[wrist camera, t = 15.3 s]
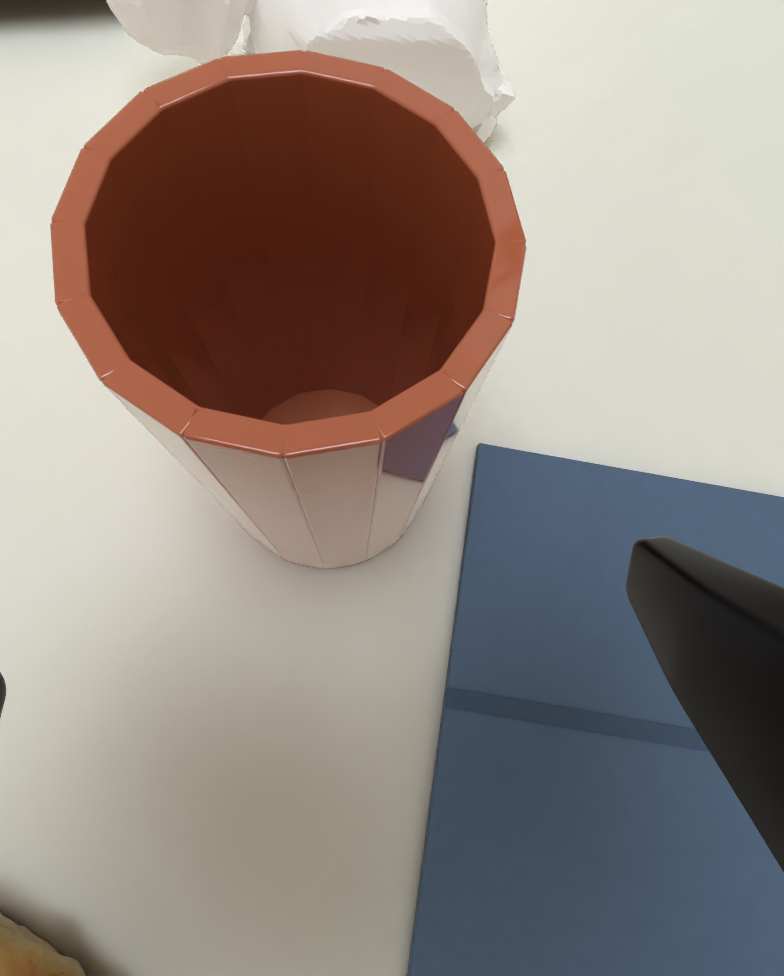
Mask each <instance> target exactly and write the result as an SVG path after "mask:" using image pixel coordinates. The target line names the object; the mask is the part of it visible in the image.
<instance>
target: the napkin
mask: <svg viewBox="0 0 784 976" xmlns="http://www.w3.org/2000/svg"><path fill="white" fill-rule="evenodd" d="M657 536H666V537H669V538H671V539H673V540H676V541H678V542H680V543H683V544H685V545H687V546H690V547H692V548H694V549H697V550H699V551H701V552H704V553H706V554H708V555H710V556H713V557H715V558H717V559H720V560H722V561H724V562H727V563H729V564H731V565H734V566H736V567H738V568H741V569H743V570H745V571H748V572H750V573H752V574H755V575H757V576H759V577H761V578H764V579H766V580H768V581H771V582H773V583H775V584H778V585H780V586H782V587H784V497H779V496H773V495H768V494H762V493H756V492H751V491H745V490H739V489H734V488H728V487H723V486H717V485H711V484H706V483H700V482H694V481H689V480H683V479H678V478H672V477H666V476H661V475H655V474H649V473H644V472H638V471H633V470H627V469H621V468H616V467H610V466H604V465H599V464H593V463H587V462H582V461H576V460H571V459H565V458H559V457H554V456H548V455H542V454H537V453H531V452H526V451H520V450H514V449H509V448H503V447H497V446H492V445H486V444H481V443H480V444H479V445H478V447H477V453H476V460H475V468H474V476H473V483H472V491H471V498H470V506H469V513H468V521H467V528H466V536H465V544H464V551H463V559H462V566H461V574H460V581H459V589H458V596H457V604H456V612H455V619H454V627H453V634H452V642H451V649H450V657H449V664H448V672H447V680H446V687H445V695H444V702H443V710H442V717H441V725H440V732H439V740H438V748H437V755H436V763H435V770H434V778H433V785H432V793H431V800H430V808H429V816H428V823H427V831H426V838H425V846H424V853H423V861H422V868H421V876H420V884H419V891H418V899H417V906H416V914H415V921H414V929H413V936H412V944H411V952H410V959H409V967H408V974H407V976H784V872H783V871H782V869H781V867H780V866H779V864H778V862H777V861H776V859H775V858H774V856H773V854H772V853H771V851H770V849H769V848H768V846H767V845H766V843H765V841H764V840H763V838H762V836H761V835H760V833H759V831H758V830H757V828H756V827H755V825H754V823H753V822H752V820H751V818H750V817H749V815H748V814H747V812H746V810H745V809H744V807H743V805H742V804H741V802H740V800H739V799H738V797H737V796H736V794H735V792H734V791H733V789H732V787H731V786H730V784H729V783H728V781H727V779H726V778H725V776H724V774H723V773H722V771H721V770H720V768H719V766H718V765H717V763H716V761H715V760H714V758H713V756H712V755H711V753H710V752H709V750H708V748H707V747H706V745H705V743H704V742H703V740H702V739H701V737H700V735H699V734H698V732H697V730H696V729H695V727H694V725H693V724H692V722H691V721H690V719H689V717H688V716H687V714H686V712H685V711H684V709H683V708H682V706H681V704H680V702H679V701H678V699H677V697H676V696H675V694H674V692H673V690H672V688H671V686H670V685H669V683H668V681H667V679H666V677H665V675H664V673H663V671H662V668H661V666H660V664H659V662H658V660H657V658H656V656H655V654H654V652H653V650H652V648H651V645H650V643H649V641H648V639H647V637H646V635H645V633H644V631H643V629H642V627H641V624H640V622H639V620H638V618H637V616H636V614H635V612H634V610H633V608H632V606H631V603H630V601H629V599H628V596H627V591H626V581H627V575H628V570H629V565H630V559H631V554H632V549H633V545H634V544H635V542H636V541H638V540H639V539H644V538H651V537H657Z"/></svg>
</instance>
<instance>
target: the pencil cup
mask: <svg viewBox="0 0 784 976" xmlns="http://www.w3.org/2000/svg"><path fill="white" fill-rule="evenodd" d="M50 226H51V242H52V258H53V274H54V290H55V303H56V305H57V308H58V311H59V313H60V314H61V316H62V318H63V320H64V321H65V323H66V325H67V326H68V328H69V330H70V331H71V333H72V335H73V336H74V338H75V340H76V341H77V343H78V345H79V346H80V348H81V350H82V352H83V353H84V355H85V357H86V358H87V360H88V362H89V363H90V365H91V367H92V368H93V370H94V372H95V373H96V375H97V377H98V379H99V380H100V381H101V382H102V383H103V384H104V386H105V387H106V388H107V389H108V390H109V391H110V392H111V393H112V394H113V395H114V396H115V397H116V398H117V399H118V400H119V401H120V402H121V403H122V404H123V405H124V406H125V407H126V408H127V409H128V410H129V411H130V412H131V413H132V414H133V415H134V416H135V417H136V418H137V419H138V421H139V422H140V423H141V424H142V425H143V426H144V427H145V428H146V429H147V430H148V431H149V432H150V433H151V434H152V435H153V436H154V437H155V438H156V439H157V440H158V441H159V442H160V443H161V444H162V445H163V446H164V447H165V448H166V449H167V450H168V451H169V452H170V453H171V454H172V455H173V456H174V457H175V458H176V460H177V461H178V462H179V463H180V464H181V465H182V466H183V467H184V468H185V469H186V470H187V471H188V472H189V473H190V474H191V475H192V476H193V477H194V478H195V479H196V480H197V481H198V482H199V483H200V484H201V485H202V486H203V487H204V488H205V489H206V490H207V491H208V492H209V493H210V494H211V495H212V496H213V497H214V498H215V500H216V501H217V502H218V503H219V504H220V505H221V506H222V507H223V508H224V509H225V510H226V511H227V512H228V513H229V514H230V515H231V516H232V517H233V518H234V519H235V520H236V521H237V522H238V523H239V524H240V525H241V526H242V527H243V528H244V529H245V530H246V531H247V532H248V533H249V534H250V535H251V536H252V537H253V538H254V539H255V540H257V541H258V542H260V543H261V544H262V545H264V546H265V547H266V548H267V549H269V550H270V551H271V552H273V553H275V554H276V555H278V556H280V557H281V558H283V559H285V560H287V561H290V562H293V563H296V564H299V565H303V566H307V567H314V568H340V567H347V566H351V565H355V564H358V563H361V562H363V561H366V560H368V559H371V558H373V557H374V556H376V555H378V554H380V553H381V552H383V551H384V550H385V549H387V548H388V547H390V546H391V545H392V544H393V543H394V542H395V541H397V540H398V539H399V538H400V537H401V536H402V534H403V533H404V531H405V530H406V529H407V527H408V526H409V525H410V523H411V521H412V519H413V518H414V516H415V515H416V514H417V512H418V511H419V509H420V507H421V505H422V503H423V502H424V500H425V498H426V496H427V494H428V492H429V490H430V488H431V486H432V484H433V482H434V480H435V478H436V476H437V474H438V472H439V470H440V468H441V466H442V464H443V462H444V460H445V458H446V456H447V454H448V452H449V450H450V448H451V446H452V444H453V442H454V440H455V438H456V436H457V434H458V432H459V430H460V428H461V426H462V424H463V422H464V420H465V418H466V416H467V414H468V412H469V410H470V408H471V406H472V404H473V402H474V400H475V398H476V396H477V394H478V393H479V391H480V389H481V387H482V385H483V383H484V381H485V379H486V377H487V375H488V373H489V371H490V369H491V367H492V365H493V363H494V361H495V359H496V357H497V355H498V353H499V351H500V349H501V347H502V345H503V343H504V341H505V339H506V337H507V335H508V333H509V331H510V329H511V327H512V324H513V322H514V320H515V314H516V308H517V302H518V296H519V290H520V283H521V277H522V271H523V265H524V259H525V253H526V245H525V243H526V240H525V236H524V233H523V229H522V226H521V223H520V219H519V216H518V212H517V209H516V205H515V202H514V198H513V195H512V192H511V188H510V185H509V181H508V178H507V174H506V172H505V171H504V168H503V166H502V165H501V164H500V162H499V161H498V160H497V159H496V158H495V156H494V155H493V154H492V153H491V151H490V150H489V149H488V148H487V147H486V145H485V144H484V143H483V142H482V140H481V139H480V138H479V137H478V136H477V134H476V133H475V132H474V131H473V129H472V128H471V127H470V126H469V125H468V123H467V122H466V121H465V120H464V118H463V117H462V116H461V115H460V114H459V112H458V111H456V110H454V108H453V107H452V106H450V105H449V104H447V103H445V102H444V101H442V100H440V99H438V98H437V97H435V96H433V95H432V94H430V93H428V92H427V91H425V90H423V89H421V88H420V87H418V86H416V85H415V84H413V83H411V82H410V81H408V80H406V79H405V78H403V77H401V76H399V75H398V74H396V73H394V72H393V71H391V70H389V69H384V68H383V67H381V66H377V65H372V64H368V63H363V62H359V61H354V60H349V59H345V58H340V57H336V56H331V55H327V54H322V53H318V52H313V51H308V50H306V51H304V52H303V50H292V51H281V52H270V53H258V54H247V55H236V56H224V57H221V60H220V59H219V58H216V59H213V60H211V61H209V62H206V63H204V64H202V65H199V66H197V67H195V68H192V69H190V70H188V71H185V72H183V73H181V74H178V75H176V76H174V77H171V78H169V79H167V80H164V81H162V82H160V83H157V84H155V85H153V86H150V87H148V88H146V89H145V90H144V92H139V93H138V94H137V95H136V96H135V97H134V98H133V99H132V100H131V101H130V102H129V103H128V104H127V105H126V106H125V107H124V108H122V109H121V110H120V111H119V112H118V113H117V114H116V115H115V116H114V117H113V118H112V119H111V120H110V121H109V122H108V123H107V124H106V125H105V126H103V127H102V128H101V129H100V130H99V131H98V132H97V133H96V134H95V135H94V136H93V137H92V138H91V139H90V140H89V141H88V142H87V143H85V145H84V148H82V149H81V150H80V153H79V155H78V158H77V160H76V162H75V165H74V167H73V169H72V172H71V174H70V176H69V179H68V181H67V183H66V186H65V188H64V191H63V193H62V195H61V198H60V200H59V202H58V205H57V207H56V209H55V212H54V214H53V216H52V223H51V224H50Z"/></svg>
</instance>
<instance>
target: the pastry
mask: <svg viewBox="0 0 784 976" xmlns="http://www.w3.org/2000/svg"><path fill="white" fill-rule="evenodd" d="M0 976H88V975H87V974H86V972H85V971H84V970H83V968H82V967H81V965H80V964H79V963H78V961H77V960H75V959H74V958H71V957H66V956H62V955H61V953H60V952H58V951H57V950H56V949H55V948H54V947H53V946H52V945H51V944H50V943H49V942H47V941H46V940H44V939H42V938H40V937H38V936H36V935H35V934H34V933H33V932H32V931H30V930H29V929H28V928H27V927H25V926H20V925H17V924H16V923H14V922H13V921H12V920H10V919H8V918H6V917H5V916H3V915H2V913H1V912H0Z"/></svg>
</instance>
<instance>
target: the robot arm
mask: <svg viewBox="0 0 784 976" xmlns="http://www.w3.org/2000/svg"><path fill="white" fill-rule="evenodd" d="M626 591H627V596H628V599H629V601H630V603H631V606H632V608H633V610H634V612H635V614H636V616H637V618H638V620H639V622H640V624H641V627H642V629H643V631H644V633H645V635H646V637H647V639H648V641H649V643H650V645H651V648H652V650H653V652H654V654H655V656H656V658H657V660H658V662H659V664H660V666H661V668H662V671H663V673H664V675H665V677H666V679H667V681H668V683H669V685H670V686H671V688H672V690H673V692H674V694H675V696H676V697H677V699H678V701H679V702H680V704H681V706H682V708H683V709H684V711H685V712H686V714H687V716H688V717H689V719H690V721H691V722H692V724H693V725H694V727H695V729H696V730H697V732H698V734H699V735H700V737H701V739H702V740H703V742H704V743H705V745H706V747H707V748H708V750H709V752H710V753H711V755H712V756H713V758H714V760H715V761H716V763H717V765H718V766H719V768H720V770H721V771H722V773H723V774H724V776H725V778H726V779H727V781H728V783H729V784H730V786H731V787H732V789H733V791H734V792H735V794H736V796H737V797H738V799H739V800H740V802H741V804H742V805H743V807H744V809H745V810H746V812H747V814H748V815H749V817H750V818H751V820H752V822H753V823H754V825H755V827H756V828H757V830H758V831H759V833H760V835H761V836H762V838H763V840H764V841H765V843H766V845H767V846H768V848H769V849H770V851H771V853H772V854H773V856H774V858H775V859H776V861H777V862H778V864H779V866H780V867H781V869H782V871H783V872H784V587H782V586H780V585H778V584H775V583H773V582H771V581H768V580H766V579H764V578H761V577H759V576H757V575H755V574H752V573H750V572H748V571H745V570H743V569H741V568H738V567H736V566H734V565H731V564H729V563H727V562H724V561H722V560H720V559H717V558H715V557H713V556H710V555H708V554H706V553H704V552H701V551H699V550H697V549H694V548H692V547H690V546H687V545H685V544H683V543H680V542H678V541H676V540H673V539H671V538H669V537H666V536H657V537H651V538H644V539H639V540H638V541H636V542H635V544H634V545H633V549H632V554H631V559H630V565H629V570H628V575H627V581H626ZM5 697H6V685H5V681H4V678H3V676H2V674H1V673H0V717H1V713H2V709H3V705H4V701H5Z"/></svg>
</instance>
